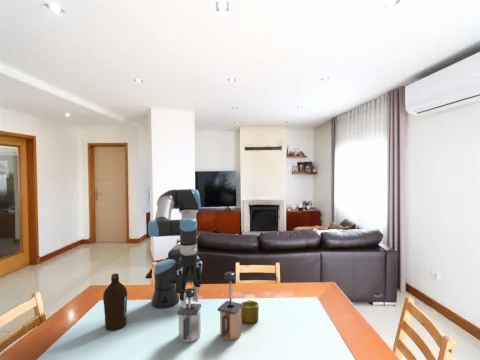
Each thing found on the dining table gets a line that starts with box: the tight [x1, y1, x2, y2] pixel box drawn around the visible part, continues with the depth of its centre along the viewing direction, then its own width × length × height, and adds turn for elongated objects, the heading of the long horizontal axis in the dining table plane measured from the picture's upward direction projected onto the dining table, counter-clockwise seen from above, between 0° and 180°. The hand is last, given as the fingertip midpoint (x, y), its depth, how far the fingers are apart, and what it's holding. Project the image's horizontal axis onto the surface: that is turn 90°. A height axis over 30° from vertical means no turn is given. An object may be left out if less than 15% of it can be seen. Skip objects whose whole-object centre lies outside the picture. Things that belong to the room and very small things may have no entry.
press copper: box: [217, 300, 243, 341], centre depth 130 cm, size 12×9×13 cm
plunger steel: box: [185, 287, 195, 310], centre depth 130 cm, size 6×6×18 cm
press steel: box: [176, 303, 202, 344], centre depth 128 cm, size 12×9×13 cm
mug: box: [240, 299, 260, 324], centre depth 145 cm, size 12×10×10 cm
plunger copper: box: [224, 271, 237, 308], centre depth 131 cm, size 6×6×18 cm
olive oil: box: [102, 273, 128, 331], centre depth 139 cm, size 11×11×25 cm
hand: (189, 303), depth 129 cm, fingers open, 7 cm apart
